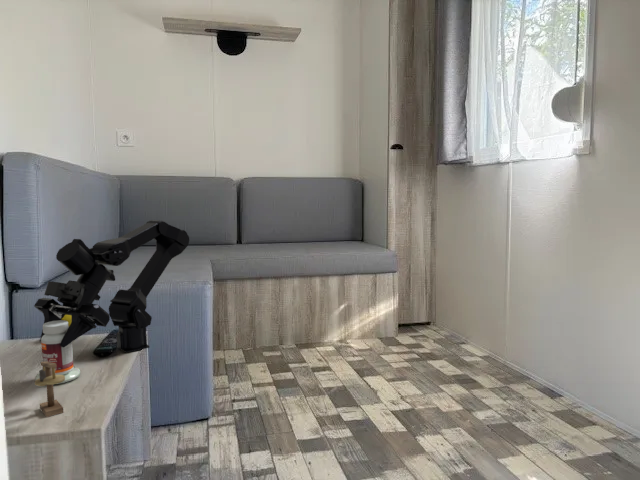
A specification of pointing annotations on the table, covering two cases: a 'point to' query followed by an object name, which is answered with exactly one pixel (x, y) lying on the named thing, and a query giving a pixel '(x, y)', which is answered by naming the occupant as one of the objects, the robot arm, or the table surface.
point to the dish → (68, 375)
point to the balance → (49, 388)
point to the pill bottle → (57, 346)
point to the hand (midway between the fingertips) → (51, 344)
